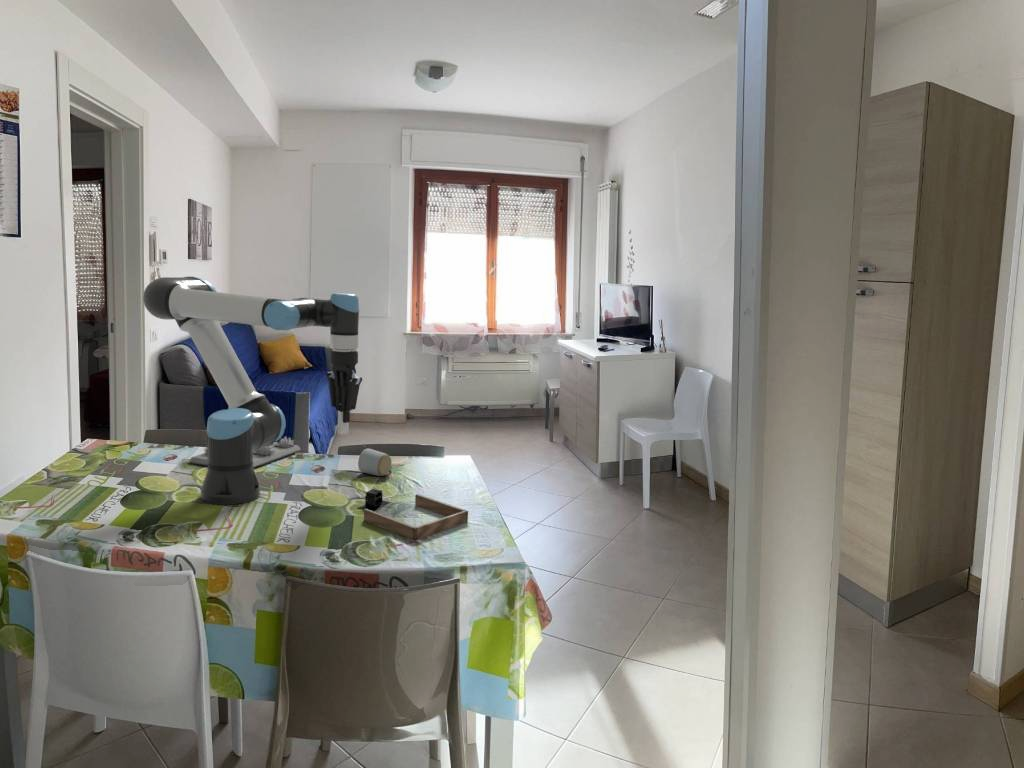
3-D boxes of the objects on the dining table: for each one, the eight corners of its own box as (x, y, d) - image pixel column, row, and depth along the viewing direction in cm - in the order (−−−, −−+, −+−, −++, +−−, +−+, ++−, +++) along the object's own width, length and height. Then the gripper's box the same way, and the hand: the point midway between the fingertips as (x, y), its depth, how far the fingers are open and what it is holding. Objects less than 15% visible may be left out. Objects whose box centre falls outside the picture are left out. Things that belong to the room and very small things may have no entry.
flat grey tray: (250, 444, 260) (250, 424, 259) (302, 452, 253) (302, 432, 252) (187, 464, 232) (186, 442, 231) (244, 474, 225) (243, 451, 224)
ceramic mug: (378, 479, 226) (379, 454, 225) (357, 474, 230) (357, 450, 229) (398, 472, 236) (399, 448, 235) (377, 467, 239) (378, 444, 238)
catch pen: (414, 540, 179) (415, 528, 179) (363, 520, 191) (364, 509, 190) (467, 521, 194) (468, 510, 193) (417, 504, 205) (417, 494, 205)
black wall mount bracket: (372, 516, 196) (373, 499, 195) (349, 512, 198) (349, 495, 197) (396, 502, 207) (396, 487, 206) (373, 498, 210) (374, 482, 209)
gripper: (370, 351, 203) (368, 435, 207) (340, 346, 211) (339, 427, 215) (348, 353, 197) (347, 439, 201) (318, 347, 205) (317, 431, 209)
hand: (343, 433), depth 208 cm, fingers closed
